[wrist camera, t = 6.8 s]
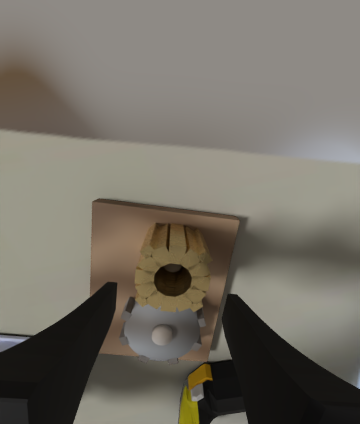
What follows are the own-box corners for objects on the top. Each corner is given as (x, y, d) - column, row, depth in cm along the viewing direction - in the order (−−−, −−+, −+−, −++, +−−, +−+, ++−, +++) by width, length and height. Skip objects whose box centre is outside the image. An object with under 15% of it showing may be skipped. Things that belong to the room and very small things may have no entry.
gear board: (205, 349, 24) (211, 386, 20) (93, 340, 24) (77, 377, 20) (235, 216, 20) (250, 229, 16) (98, 198, 19) (78, 208, 15)
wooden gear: (196, 277, 20) (203, 314, 15) (142, 271, 20) (132, 308, 15) (205, 227, 19) (216, 250, 14) (147, 220, 18) (138, 241, 13)
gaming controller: (283, 400, 28) (281, 347, 25) (309, 457, 22) (310, 397, 20) (180, 415, 28) (168, 364, 25) (182, 475, 22) (167, 418, 20)
